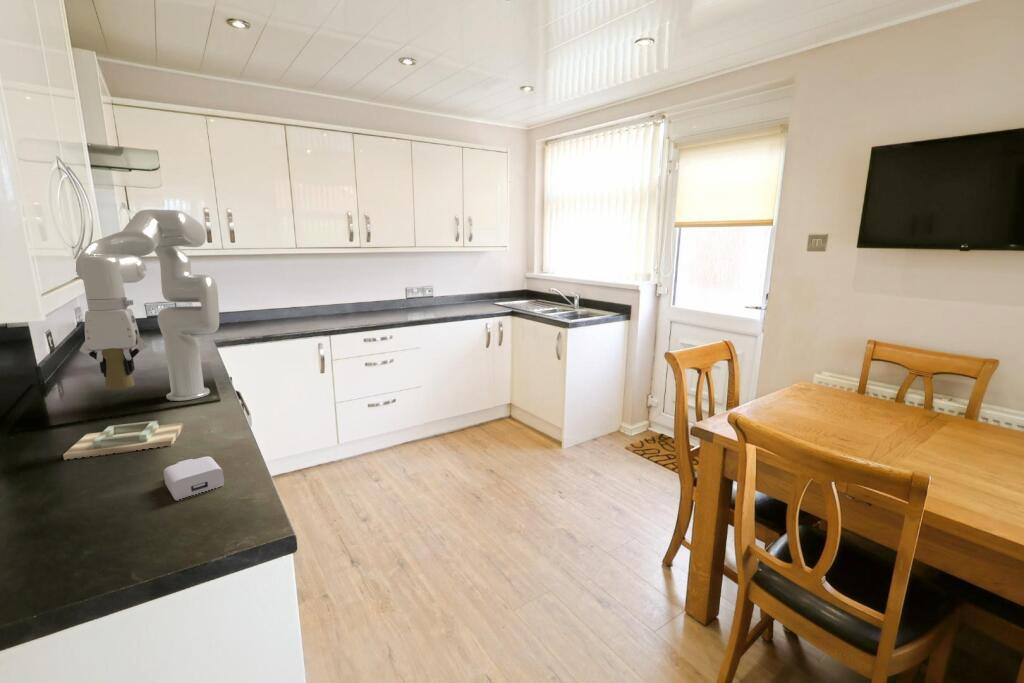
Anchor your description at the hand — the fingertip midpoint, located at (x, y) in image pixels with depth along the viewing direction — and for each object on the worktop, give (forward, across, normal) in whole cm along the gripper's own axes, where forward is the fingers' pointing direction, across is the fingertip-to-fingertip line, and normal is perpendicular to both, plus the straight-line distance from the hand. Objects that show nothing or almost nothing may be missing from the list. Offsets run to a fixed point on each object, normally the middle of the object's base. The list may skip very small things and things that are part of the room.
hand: (118, 374), depth 122 cm
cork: (+3, 0, 0) cm, 3 cm away
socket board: (+19, 0, 0) cm, 19 cm away
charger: (+19, -20, +31) cm, 42 cm away
